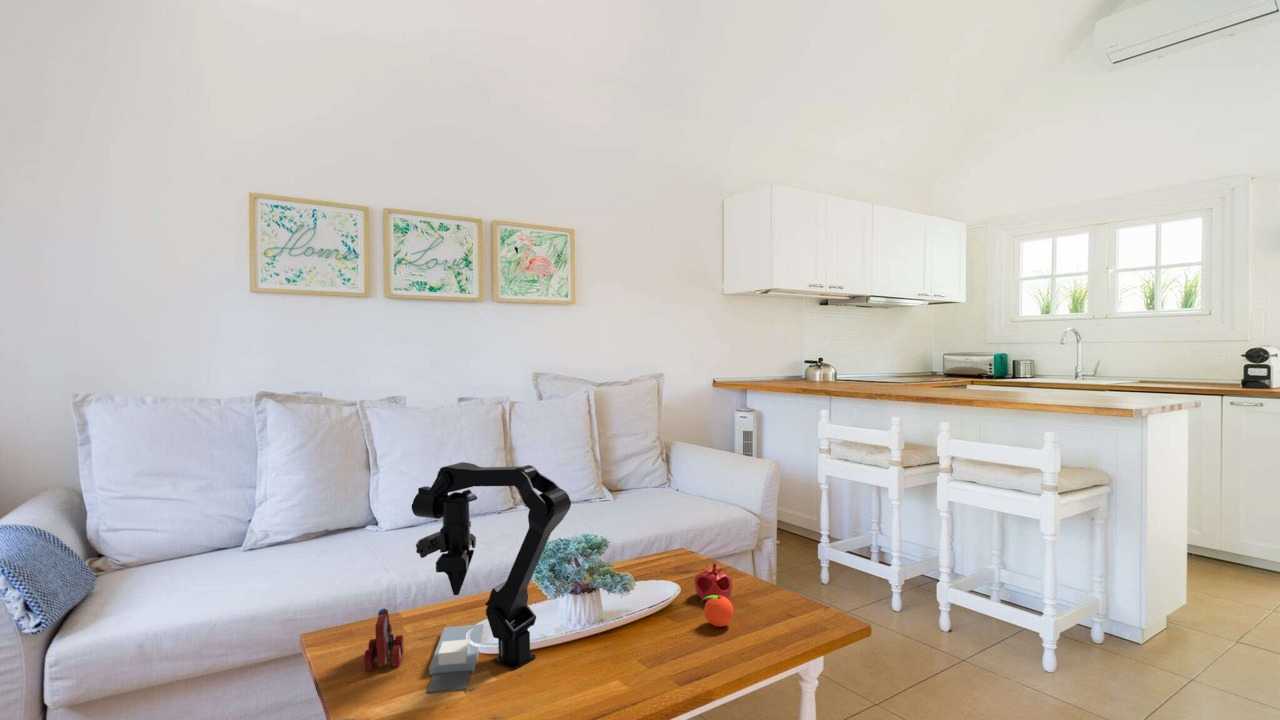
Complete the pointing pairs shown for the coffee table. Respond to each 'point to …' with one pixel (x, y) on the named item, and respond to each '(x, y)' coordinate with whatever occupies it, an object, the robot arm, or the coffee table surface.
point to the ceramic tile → (453, 652)
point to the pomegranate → (713, 583)
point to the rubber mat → (449, 681)
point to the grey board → (453, 635)
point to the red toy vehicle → (383, 644)
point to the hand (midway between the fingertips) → (458, 590)
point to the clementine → (718, 610)
